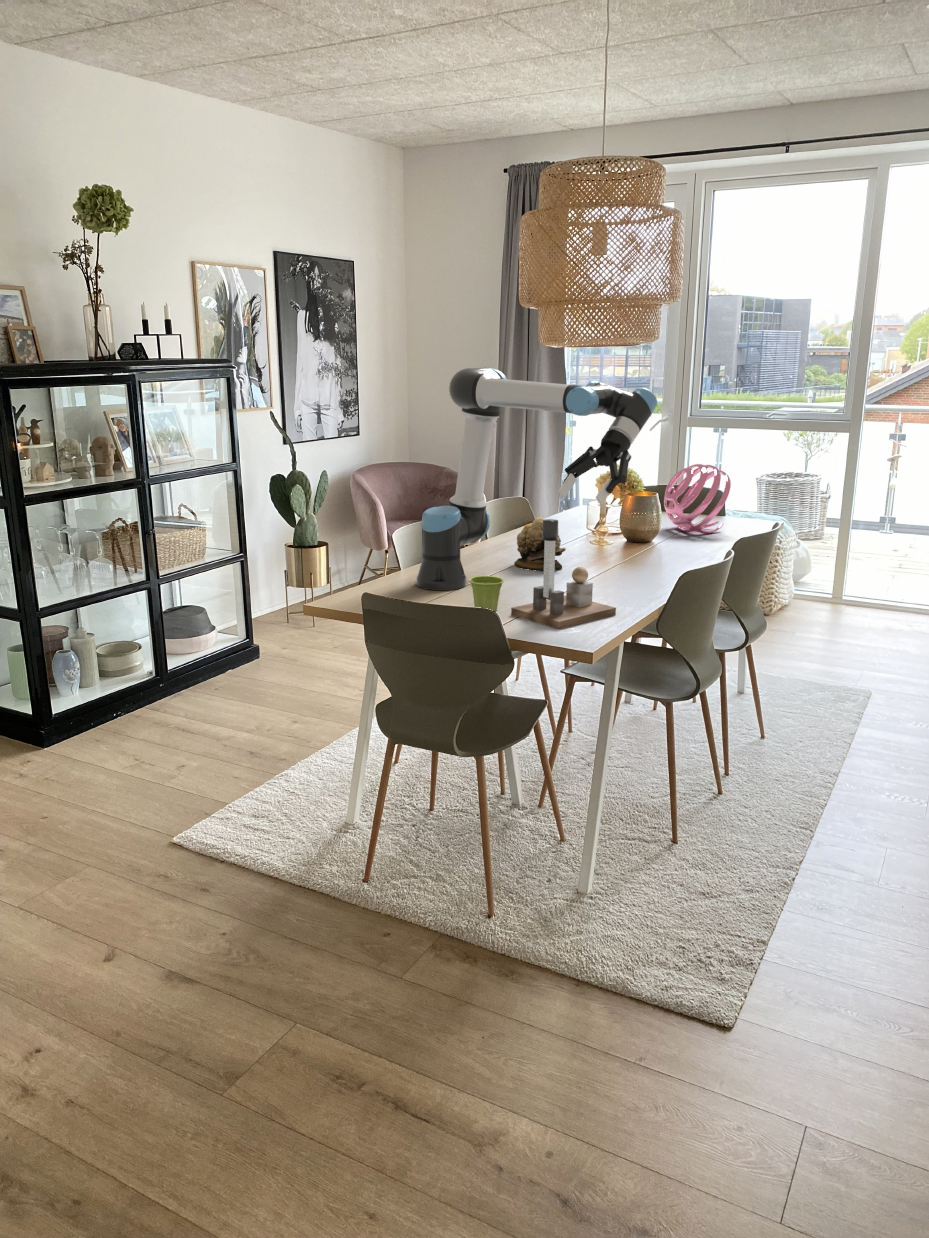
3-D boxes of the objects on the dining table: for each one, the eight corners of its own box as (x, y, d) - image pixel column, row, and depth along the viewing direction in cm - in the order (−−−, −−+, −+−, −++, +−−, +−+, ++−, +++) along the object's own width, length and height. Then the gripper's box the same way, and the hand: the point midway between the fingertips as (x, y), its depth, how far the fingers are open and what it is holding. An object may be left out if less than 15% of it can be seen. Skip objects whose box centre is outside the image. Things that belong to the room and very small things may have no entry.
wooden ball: (568, 582, 258) (568, 566, 257) (579, 580, 261) (579, 564, 260) (580, 585, 255) (580, 569, 254) (591, 583, 258) (591, 567, 256)
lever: (537, 599, 251) (539, 520, 246) (548, 596, 254) (550, 518, 248) (548, 602, 248) (550, 522, 243) (559, 599, 251) (561, 520, 245)
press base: (511, 614, 256) (511, 586, 254) (567, 601, 270) (568, 574, 268) (558, 629, 243) (559, 599, 241) (615, 614, 256) (617, 586, 254)
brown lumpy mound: (571, 567, 314) (573, 516, 310) (556, 574, 305) (558, 522, 300) (523, 560, 323) (524, 511, 318) (507, 567, 313) (507, 516, 309)
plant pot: (501, 605, 265) (502, 575, 263) (504, 614, 256) (504, 583, 254) (468, 605, 265) (468, 575, 263) (469, 614, 256) (470, 583, 254)
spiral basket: (738, 478, 386) (689, 441, 377) (760, 504, 362) (709, 466, 353) (691, 529, 397) (643, 495, 387) (710, 558, 372) (660, 522, 363)
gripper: (661, 450, 249) (621, 512, 244) (591, 443, 267) (552, 501, 262) (650, 431, 244) (609, 494, 239) (579, 425, 263) (539, 484, 257)
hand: (579, 498), depth 251 cm, fingers open, 13 cm apart
